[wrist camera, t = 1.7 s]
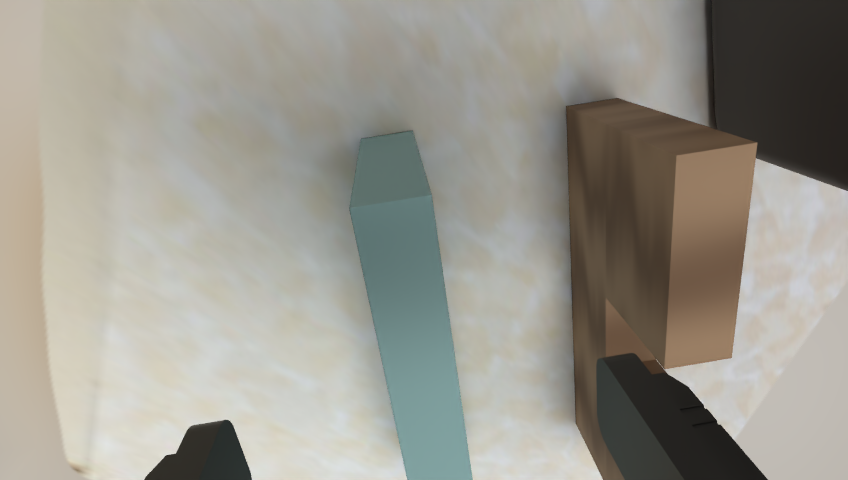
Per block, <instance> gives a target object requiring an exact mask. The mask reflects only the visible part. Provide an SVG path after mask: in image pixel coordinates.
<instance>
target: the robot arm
mask: <svg viewBox="0 0 848 480" xmlns="http://www.w3.org/2000/svg"><path fill="white" fill-rule="evenodd" d="M596 385H597V418H598V424H599V428H600V431H601V434H602V437H603V440H604V442H605V444H606V446H607V448H608V450H609V452H610V453H611V455H612V457H613V459H614V461H615V463H616V464H617V466H618V468H619V470H620V472H621V474H622V476H623V477H624V479H625V480H768V479H767V478H766V477H765V476H764V475H763V474H762V472H761V471H760V470H759V469H758V468H757V467H756V466H755V464H754V463H753V462H752V461H751V460H750V458H749V457H748V456H747V455H746V454H745V453H744V451H743V450H742V449H741V448H740V447H739V446H738V444H737V443H736V442H735V441H734V440H733V439H732V437H731V436H730V435H729V434H728V433H727V432H726V431H725V429H724V428H723V427H722V426H721V425H718V423H717V420H716V419H715V418H714V417H713V415H712V414H711V413H710V412H709V411H708V410H707V409H705V408H704V405H703V404H702V403H701V401H700V400H699V399H698V398H697V397H696V396H695V394H694V393H693V392H692V391H691V390H690V389H689V387H688V386H686V385H684V384H683V383H681V382H679V381H678V380H676V379H675V378H673V377H671V376H670V375H668V374H666V373H665V372H664V373H658V374H651V373H650V371H649V370H648V369H647V367H646V366H645V365H644V364H643V362H642V361H641V360H640V359H639V357H638V356H637V355H636V354H634V353H627V354H621V355H616V356H610V357H604V358H599V359H598V360H597V364H596ZM145 480H252V478H251V473H250V470H249V467H248V464H247V462H246V459H245V456H244V454H243V451H242V448H241V446H240V443H239V440H238V437H237V435H236V432H235V429H234V427H233V425H232V423H231V422H230V421H229V420H223V421H217V422H211V423H205V424H199V425H193V426H191V427H190V428H189V429H188V430H187V432H186V434H185V436H184V438H183V440H182V442H181V444H180V446H179V448H178V451H177V453H176V454H171V455H166V456H165V457H164V458H163V459H162V460H161V461H160V463H159V464H158V465H157V466H156V467H155V468H154V469H153V470H152V471H151V472H150V473H149V474H148V475H147V476H146V478H145Z"/></svg>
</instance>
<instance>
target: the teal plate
mask: <svg viewBox="0 0 848 480" xmlns="http://www.w3.org/2000/svg"><path fill="white" fill-rule="evenodd" d="M349 209H350V214H351V219H352V223H353V228H354V233H355V237H356V242H357V247H358V251H359V256H360V261H361V265H362V270H363V275H364V279H365V284H366V289H367V293H368V298H369V303H370V307H371V312H372V317H373V321H374V326H375V331H376V335H377V340H378V345H379V349H380V354H381V359H382V363H383V368H384V373H385V377H386V382H387V387H388V391H389V396H390V401H391V405H392V410H393V415H394V419H395V424H396V429H397V433H398V438H399V443H400V447H401V452H402V457H403V461H404V466H405V471H406V476H407V480H473V479H472V472H471V465H470V458H469V451H468V444H467V437H466V430H465V423H464V416H463V409H462V402H461V396H460V389H459V382H458V375H457V368H456V361H455V354H454V347H453V340H452V333H451V326H450V319H449V312H448V305H447V298H446V291H445V284H444V277H443V270H442V263H441V256H440V249H439V242H438V236H437V229H436V222H435V215H434V208H433V201H432V194H431V191H430V188H429V184H428V181H427V177H426V174H425V171H424V167H423V164H422V161H421V157H420V154H419V150H418V147H417V144H416V140H415V137H414V134H413V131H407V132H401V133H395V134H389V135H382V136H376V137H370V138H363V139H361V143H360V148H359V154H358V160H357V166H356V172H355V178H354V184H353V189H352V195H351V201H350V207H349Z"/></svg>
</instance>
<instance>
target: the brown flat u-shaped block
mask: <svg viewBox="0 0 848 480" xmlns="http://www.w3.org/2000/svg"><path fill="white" fill-rule="evenodd" d="M566 112H567V145H568V178H569V211H570V244H571V277H572V310H573V343H574V376H575V409H576V425H577V427H578V429H579V431H580V433H581V435H582V437H583V439H584V441H585V443H586V445H587V447H588V449H589V451H590V453H591V455H592V457H593V459H594V462H595V464H596V466H597V468H598V470H599V472H600V474H601V476H602V478H603V480H625V479H624V477H623V476H622V474H621V472H620V470H619V468H618V466H617V464H616V463H615V461H614V459H613V457H612V455H611V453H610V452H609V450H608V448H607V446H606V444H605V442H604V440H603V437H602V434H601V431H600V428H599V424H598V418H597V385H596V364H597V360H598V359H599V358H604V357H610V356H616V355H621V354H627V353H634V354H636V355H637V356H638V357H639V359H640V360H641V361H642V362H643V364H644V365H645V366H646V367H647V369H648V370H649V371H650V373H651V374H658V373H664V372H665V373H666V371H665V370H664V369H669V368H675V367H681V366H687V365H693V364H699V363H705V362H710V361H716V360H722V359H728V358H732V350H733V342H734V334H735V325H736V317H737V309H738V300H739V292H740V284H741V275H742V267H743V259H744V250H745V242H746V234H747V225H748V217H749V209H750V200H751V192H752V184H753V175H754V167H755V159H756V150H757V142H754V141H751V140H748V139H745V138H741V137H738V136H735V135H732V134H729V133H726V132H722V131H719V130H716V129H713V128H710V127H707V126H704V125H700V124H697V123H694V122H691V121H688V120H685V119H681V118H678V117H675V116H672V115H669V114H666V113H662V112H659V111H656V110H653V109H650V108H647V107H644V106H640V105H637V104H634V103H631V102H628V101H625V100H621V99H618V98H615V99H609V100H603V101H596V102H590V103H584V104H577V105H571V106H566ZM656 359H657V360H656ZM657 361H658V362H659V363H660V364H661V365H660V364H659V363H658V362H657ZM661 366H662V367H663V368H664V369H663V368H662V367H661ZM666 374H667V373H666Z"/></svg>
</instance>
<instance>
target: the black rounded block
mask: <svg viewBox="0 0 848 480" xmlns="http://www.w3.org/2000/svg"><path fill="white" fill-rule="evenodd" d="M712 32H713V66H714V99H715V119H716V125H717V128H718V130H719V131H722V132H726V133H729V134H732V135H735V136H738V137H741V138H745V139H748V140H751V141H754V142H757V150H756V158H757V159H760V160H763V161H766V162H768V163H771V164H774V165H777V166H779V167H782V168H785V169H788V170H791V171H793V172H796V173H799V174H802V175H805V176H807V177H810V178H813V179H816V180H818V181H821V182H824V183H827V184H830V185H832V186H835V187H838V188H841V189H844V190H847V191H848V0H712Z"/></svg>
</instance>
